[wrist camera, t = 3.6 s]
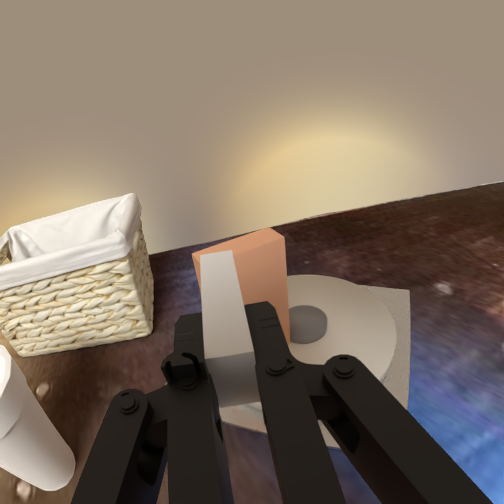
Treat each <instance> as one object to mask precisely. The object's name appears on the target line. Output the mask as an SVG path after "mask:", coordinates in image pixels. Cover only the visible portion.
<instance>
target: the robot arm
mask: <svg viewBox="0 0 504 504" xmlns="http://www.w3.org/2000/svg"><path fill="white" fill-rule="evenodd" d="M200 272H201V298H202V313H195V314H188V315H182V316H180V317H179V319H178V321H177V322H176V324H175V337H174V343H175V344H174V352H173V353H171V354H170V355H168V356H167V357H166V358H165V359H164V360H163V362H162V365H161V369H162V372H163V374H164V376H165V378H166V381H167V384H166V385H165V386H163V387H162V388H160V389H158V390H156V391H153V392H150V393H148V394H144V393H143V392H141V391H139V390H136V389H127V390H124V391H121V392H120V393H118V394H117V395H116V396H115V397H114V398H113V400H112V401H111V403H110V405H109V408H108V410H107V412H106V415H105V417H104V419H103V422H102V424H101V426H100V429H99V431H98V434H97V436H96V439H95V441H94V444H93V446H92V448H91V451H90V454H89V456H88V459H87V461H86V464H85V466H84V469H83V471H82V474H81V477H80V479H79V482H78V485H77V487H76V490H75V493H74V496H73V498H72V501H71V504H156V503H157V499H158V495H159V491H160V487H161V483H162V479H163V475H164V471H165V467H166V463H167V460H168V493H169V504H234V501H233V494H232V488H231V481H230V475H229V468H228V461H227V454H226V446H225V439H224V431H223V423H222V419H221V416H220V411H219V407H220V408H224V407H231V406H237V405H243V404H249V403H255V402H261V405H262V412H263V418H264V425H265V426H266V431H267V435H268V440H269V444H270V448H271V453H272V457H273V462H274V466H275V470H276V475H277V479H278V483H279V488H280V492H281V496H282V500H283V504H346V501H345V499H344V496H343V493H342V490H341V487H340V484H339V481H338V478H337V475H336V472H335V469H334V466H333V463H332V461H331V458H330V455H329V452H328V449H327V446H326V443H325V440H324V437H323V434H322V432H321V429H320V426H319V423H318V420H321V422H322V423H323V424H324V426H325V427H326V429H327V430H328V431H329V433H330V434H331V436H332V437H333V438H334V440H335V441H336V443H337V444H338V445H339V447H340V448H341V449H342V451H343V452H344V453H345V455H346V456H347V458H348V459H349V460H350V462H351V463H352V464H353V466H354V467H355V468H356V470H357V471H358V472H359V474H360V475H361V476H362V478H363V479H364V480H365V482H366V483H367V484H368V486H369V487H370V488H371V490H372V491H373V492H374V494H375V495H376V496H377V498H378V499H379V500H380V501H381V503H382V504H493V503H492V502H491V501H490V499H489V498H488V497H487V496H486V495H485V494H484V493H483V492H482V491H481V490H480V489H479V488H478V486H477V485H476V484H475V483H474V482H473V481H472V480H471V479H470V478H469V477H468V476H467V475H466V473H465V472H464V471H463V470H462V469H461V468H460V467H459V466H458V465H457V464H456V463H455V462H454V460H453V459H452V458H451V457H450V456H449V455H448V454H447V453H446V452H445V451H444V450H443V449H442V448H441V446H440V445H439V444H438V443H437V442H436V441H435V440H434V439H433V438H432V437H431V436H430V435H429V434H428V432H427V431H426V430H425V429H424V428H423V427H422V426H421V425H420V424H419V423H418V422H417V421H416V420H415V418H414V417H413V416H412V415H411V414H410V413H409V412H408V411H407V410H406V409H405V408H404V407H403V406H402V405H401V403H400V402H399V401H398V400H397V399H396V398H395V397H394V396H393V395H392V394H391V393H390V392H389V391H388V390H387V388H386V387H385V386H384V385H383V384H382V383H381V382H380V381H379V380H378V379H377V378H376V377H375V376H374V375H373V374H372V372H371V371H370V370H369V369H368V368H367V367H366V366H365V365H364V364H363V363H362V362H361V361H360V360H359V359H357V358H356V357H354V356H351V355H348V354H340V355H336V356H333V357H331V358H330V359H328V360H327V361H326V363H325V364H324V365H319V364H306V363H303V362H300V361H299V360H297V359H296V358H295V357H294V356H293V355H292V354H291V352H290V350H289V347H288V344H287V341H286V338H285V335H284V332H283V329H282V326H281V324H280V321H279V318H278V315H277V312H276V309H275V307H274V306H273V305H271V304H270V303H269V302H268V301H263V302H258V303H252V304H246V305H244V304H243V300H242V295H241V291H240V286H239V281H238V277H237V272H236V267H235V263H234V258H233V253H232V250H228V251H222V252H216V253H209V254H203V255H200Z"/></svg>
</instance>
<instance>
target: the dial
mask: <svg viewBox="0 0 504 504" xmlns="http://www.w3.org/2000/svg"><path fill="white" fill-rule="evenodd" d="M228 250H232V253H233V258H234V263H235V267H236V272H237V277H238V281H239V286H240V291H241V295H242V300H243V304H244V305H246V304H252V303H258V302H263V301H268V302H269V303H270V304H271V305H273V306H274V307H275V309H276V312H277V315H278V318H279V321H280V324H281V326H282V329H283V332H284V335H285V338H286V341H287V344H288V347H289V350H290V352H291V354H292V355H293V356H294V357H295V358H296V359H297V360H299V361H300V362H303V363H306V364H319V365H324V364H325V363H326V361H327V360H328V359H330V358H331V357H333V356H336V355H340V354H348V355H351V356H354V357H356V358H357V359H359V360H360V361H361V362H362V363H363V364H364V365H365V366H366V367H367V368H368V369H369V370H370V371H371V372H372V374H373V375H374V376H375V377H376V378H377V379H378V380H379V381H380V382H382V380H383V378H384V377H385V375H386V374H387V372H388V370H389V367H390V365H391V362H392V358H393V354H394V351H395V346H396V335H397V333H396V327H395V323H394V320H393V317H392V315H391V314H390V312H389V310H388V309H387V307H386V306H385V305H384V304H383V302H382V301H381V300H379V299H378V298H377V297H376V296H375V295H374V294H372V293H371V292H370V291H368V290H366V289H364V288H363V287H361V286H359V285H357V284H354V283H352V282H349V281H346V280H343V279H339V278H335V277H329V276H322V275H293V276H287V269H286V254H285V239H284V237H283V236H282V235H280V234H279V233H277V232H276V231H274V230H272V229H271V228H269V227H268V228H265V229H262V230H259V231H256V232H253V233H250V234H247V235H244V236H241V237H238V238H235V239H232V240H230V241H227V242H224V243H221V244H218V245H215V246H212V247H209V248H206V249H203V250H201V251H198V252H195V253H192V257H193V261H194V266H195V270H196V274H197V279H198V283H199V287H200V291H201V272H200V255H203V254H209V253H216V252H222V251H228ZM249 405H251V406H253V407H255V408H257V409H260V410H262V405H261V402H255V403H249Z"/></svg>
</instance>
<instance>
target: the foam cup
mask: <svg viewBox="0 0 504 504" xmlns="http://www.w3.org/2000/svg"><path fill="white" fill-rule="evenodd" d="M75 465H76V462H75V458H74V454H73V452H72V451H71V449H70V447H69V446H68V445H67V444H66V442H65V441H64V439H63V438H62V437H61V435H60V434H59V433H58V431H57V430H56V428H55V427H54V426H53V424H52V423H51V421H50V420H49V418H48V417H47V415H46V414H45V412H44V411H43V409H42V408H41V406H40V404H39V403H38V401H37V400H36V398H35V396H34V395H33V393H32V391H31V390H30V388H29V386H28V385H27V383H26V377H25V376H24V374H23V373H22V372H21V370H20V369H19V367H18V366H17V364H16V363H15V361H14V360H13V358H12V357H11V356H10V354H9V353H8V351H7V350H6V348H5V347H4V346H3V345H0V467H2V468H3V469H5V470H7V471H8V472H10V473H12V474H14V475H15V476H17V477H19V478H21V479H23V480H25V481H27V482H28V483H30V484H32V485H34V486H36V487H38V488H40V489H43V490H45V491H56V490H58V489H60V488H62V487H64V486H65V485H67V484H68V482H69V481H70V479H71V478H72V476H73V475H74V470H75Z"/></svg>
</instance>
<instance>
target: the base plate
mask: <svg viewBox="0 0 504 504" xmlns="http://www.w3.org/2000/svg"><path fill="white" fill-rule="evenodd" d="M359 286H361V287H363V288H364V289H366V290H368V291H370V292H371V293H372V294H374V295H375V296H376V297H377V298H378V299H379V300H381V301H382V302H383V304H384V305H385V306H386V307H387V309H388V310H389V312H390V314H391V315H392V317H393V320H394V323H395V327H396V333H397V335H396V346H395V351H394V354H393V358H392V362H391V365H390V367H389V370H388V372H387V374H386V375H385V377H384V378H383V380H382V382H381V383H382V384H383V385H384V386H385V387H386V388H387V390H388V391H389V392H390V393H391V394H392V395H393V396H394V397H395V398H396V399H397V400H398V401H399V402H400V403H401V405H402V406H403V407H404V408H405V409H406V410H407V406H408V392H409V374H410V293H409V290H403V289H393V288H383V287H374V286H364V285H359ZM166 384H167V383H166ZM166 384H165V385H166ZM219 411H220V416H221V419H222V423H224V424H227V425H230V426H234V427H237V428H241V429H244V430H248V431H252V432H256V433H259V434H263V435H267V431H266V426H265V425H264V418H263V412H262V410H260V409H257V408H255V407H253V406H251V405H249V404H243V405H237V406H231V407H224V408H220V407H219ZM318 423H319V426H320V429H321V432H322V434H323V437H324V440H325V443H326V446H327V448H330V449H336V450H342V449H341V448H340V447H339V445H338V444H337V443H336V441H335V440H334V438H333V437H332V436H331V434H330V433H329V431H328V430H327V429H326V427H325V426H324V424H323V423H322V422H321V420H318ZM267 436H268V435H267Z"/></svg>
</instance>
